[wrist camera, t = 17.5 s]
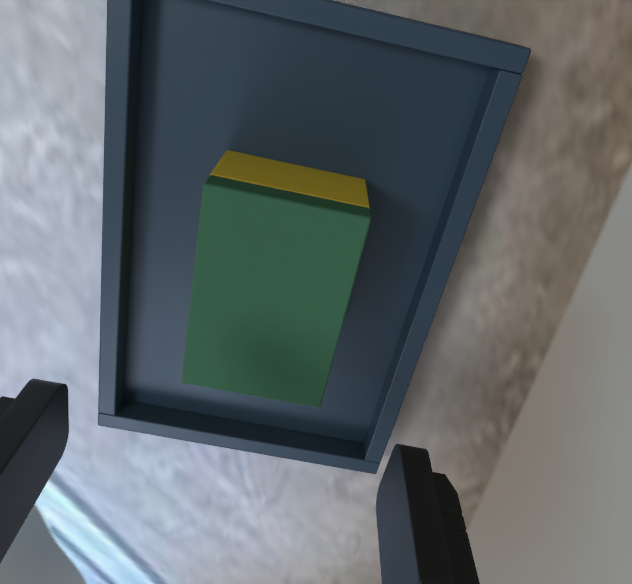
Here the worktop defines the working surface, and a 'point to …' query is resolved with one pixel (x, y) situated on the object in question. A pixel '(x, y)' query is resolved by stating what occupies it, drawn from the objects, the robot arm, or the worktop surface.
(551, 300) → the worktop surface
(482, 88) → the tray
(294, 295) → the sponge
